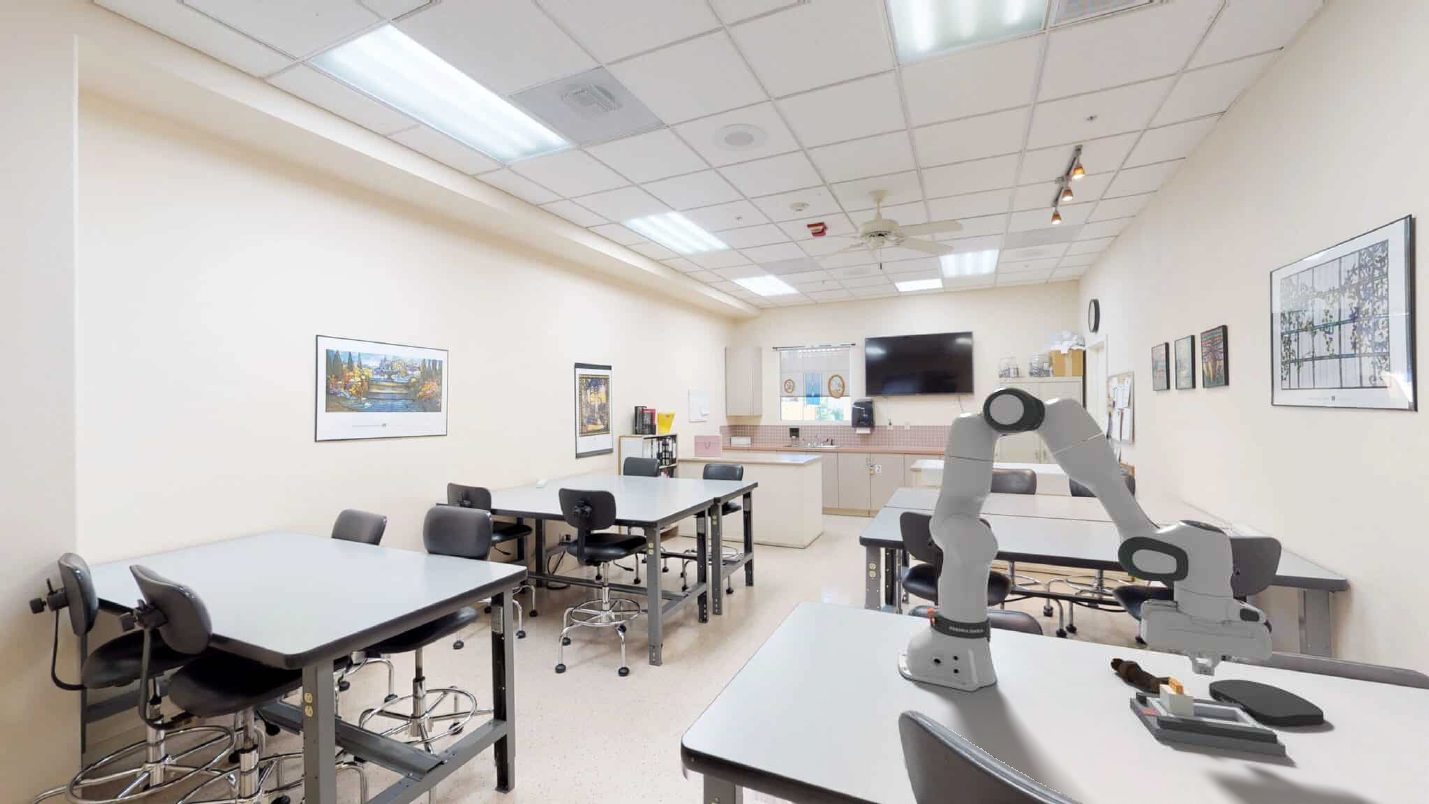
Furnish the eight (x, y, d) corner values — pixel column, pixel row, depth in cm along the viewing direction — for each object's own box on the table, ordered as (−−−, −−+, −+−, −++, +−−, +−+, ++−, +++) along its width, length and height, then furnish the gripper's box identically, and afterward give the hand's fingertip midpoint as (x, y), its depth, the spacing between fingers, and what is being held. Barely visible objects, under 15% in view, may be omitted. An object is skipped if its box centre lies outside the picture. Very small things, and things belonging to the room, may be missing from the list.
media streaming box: (1335, 726, 111) (1335, 711, 111) (1268, 730, 110) (1267, 714, 110) (1259, 690, 126) (1259, 676, 126) (1199, 693, 125) (1199, 679, 125)
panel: (1155, 738, 107) (1154, 719, 107) (1130, 707, 119) (1129, 690, 119) (1285, 756, 101) (1284, 736, 101) (1245, 721, 113) (1245, 703, 113)
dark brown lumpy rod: (1119, 679, 135) (1173, 709, 120) (1102, 669, 135) (1154, 698, 120) (1129, 657, 136) (1185, 685, 121) (1112, 647, 136) (1165, 674, 121)
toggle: (1169, 718, 110) (1168, 685, 110) (1160, 708, 114) (1159, 676, 114) (1194, 722, 109) (1193, 688, 109) (1183, 711, 113) (1182, 678, 113)
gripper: (1147, 602, 110) (1147, 672, 110) (1277, 615, 104) (1277, 689, 104) (1134, 593, 116) (1134, 659, 116) (1256, 604, 110) (1256, 674, 110)
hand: (1203, 673), depth 110 cm, fingers closed
